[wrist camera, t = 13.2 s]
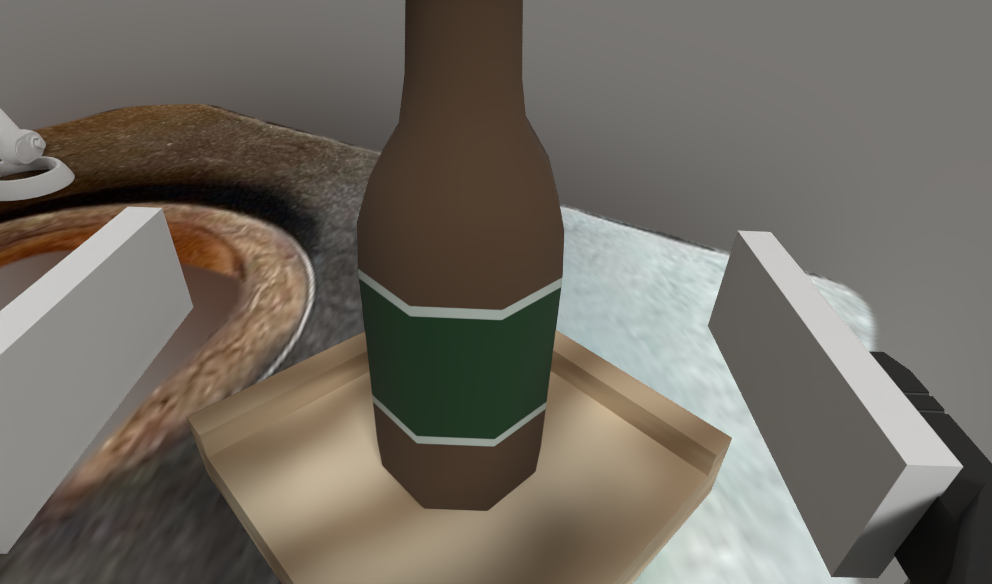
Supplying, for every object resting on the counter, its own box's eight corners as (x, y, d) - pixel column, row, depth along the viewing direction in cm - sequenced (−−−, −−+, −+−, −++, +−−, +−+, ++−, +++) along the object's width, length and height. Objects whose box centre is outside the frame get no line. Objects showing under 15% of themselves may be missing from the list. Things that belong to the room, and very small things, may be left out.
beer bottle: (570, 490, 26) (697, -210, 12) (401, 545, 23) (327, -260, 10) (505, 378, 32) (542, -179, 18) (364, 412, 29) (287, -205, 16)
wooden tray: (207, 473, 29) (186, 417, 27) (472, 327, 40) (473, 279, 37) (435, 813, 18) (432, 768, 16) (710, 491, 29) (732, 437, 27)
